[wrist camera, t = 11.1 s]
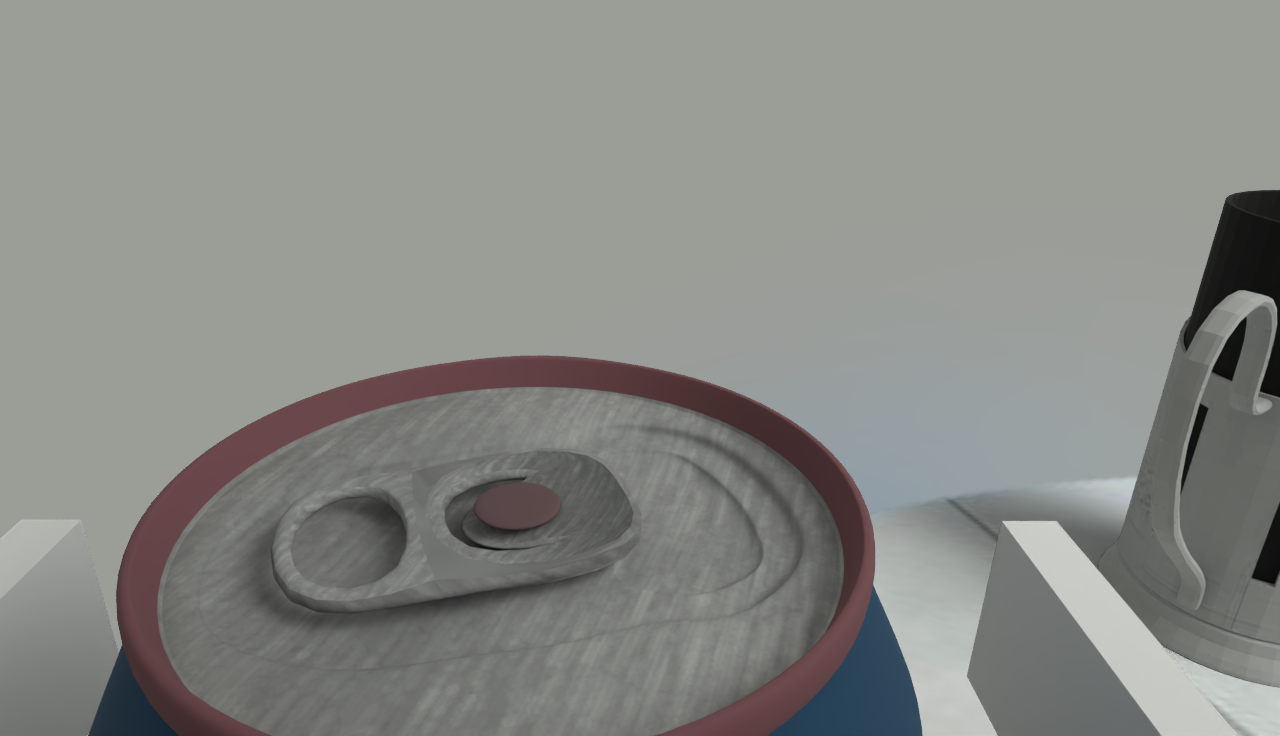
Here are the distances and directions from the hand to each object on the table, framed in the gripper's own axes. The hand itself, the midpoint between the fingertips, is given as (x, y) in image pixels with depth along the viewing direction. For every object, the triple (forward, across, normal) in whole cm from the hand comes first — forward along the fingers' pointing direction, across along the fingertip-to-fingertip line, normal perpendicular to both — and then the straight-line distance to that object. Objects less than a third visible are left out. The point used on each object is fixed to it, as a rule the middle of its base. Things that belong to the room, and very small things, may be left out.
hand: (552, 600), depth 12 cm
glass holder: (+14, +22, -13) cm, 29 cm away
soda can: (-4, 0, -8) cm, 9 cm away
